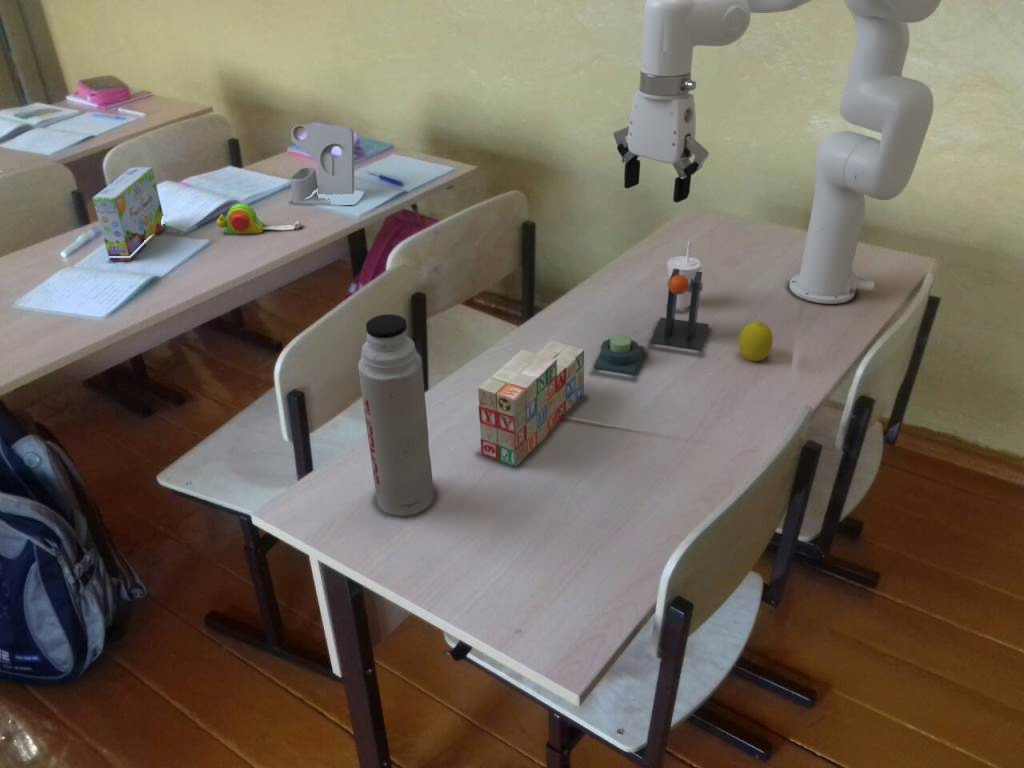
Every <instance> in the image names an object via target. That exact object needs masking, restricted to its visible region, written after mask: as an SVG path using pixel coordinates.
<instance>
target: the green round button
mask: <svg viewBox="0 0 1024 768" xmlns="http://www.w3.org/2000/svg"><path fill="white" fill-rule="evenodd" d="M609 339H610V338H609ZM631 340H632V339H631V337H629V336H627V335H624V334H617V335H613V336H612V337H611V339H610V350H611V351H613V352H616V353H627V352H629V351H630V350H631Z"/></svg>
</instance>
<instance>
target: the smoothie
mask: <svg viewBox="0 0 1024 768" xmlns="http://www.w3.org/2000/svg"><path fill="white" fill-rule="evenodd" d="M691 245H692V241H691V240H688V241H687V246H686V247H687V248H686V255H685V256H684V255H680V256H679V255H677V256H673V257H671V258H669V259H668V260H667V264H666V268H667V270H668V279H670V277H671V275H672V273H673V270H674V269H680V271H679V275H682V276H684V277H685V278H691V279H693V280H694V277H695V275H696V272H701V269H702V262H701V261H700V260H698V259H697V258H695V257H691V248H692V247H691ZM692 285H693V284H692ZM691 294H692V290H691V292H685V293H683V294H679V295H677V301H676V309H687V308H690V303H691Z"/></svg>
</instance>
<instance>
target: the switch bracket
mask: <svg viewBox="0 0 1024 768" xmlns="http://www.w3.org/2000/svg"><path fill="white" fill-rule="evenodd" d="M679 271H680V269H674V270H673V273H672V275H671V277H670V279H669V278H668V279H667V287H668V294H667V304H666V314H665V317H660V318H659V321H658V323H657V325H656V327H655V329H654V333H653V335H652V336H651V340H650V341H649V342H650V344H651V345H657V346H664V347H671V348H677V349H685V350H690V351H699V352H701V351H702V348H703V344H704V341H705V339H706V335H707V331H708V328H709V323H704V322H698V321H697V320H698V313H699V306H700V305H699V304H700V295H701V292H702V291H703V287H704V283H703V282H702V279H703V272H702V271H699V272H696V275H695V277H694V280H693V285H692V294H691V303H690V306H689V312H688V320H683V319H677V318H676V309H677V308H676V301H677V294H674V293H672V292H671V290H670V289H669V281H670V280H671V278H672V277H674V276H676V275H679ZM675 318H676V319H675Z"/></svg>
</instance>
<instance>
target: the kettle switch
mask: <svg viewBox="0 0 1024 768" xmlns="http://www.w3.org/2000/svg"><path fill="white" fill-rule="evenodd" d="M692 284H693V279H691V278H685V277H684V276H682V275H676V276H674V277H672V278H671V280H670V281H669V287H668V290H669V289H670V290H671V292H672V293H674V294H677V295H679V294H683V293H685V292H691V290H692Z"/></svg>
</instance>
